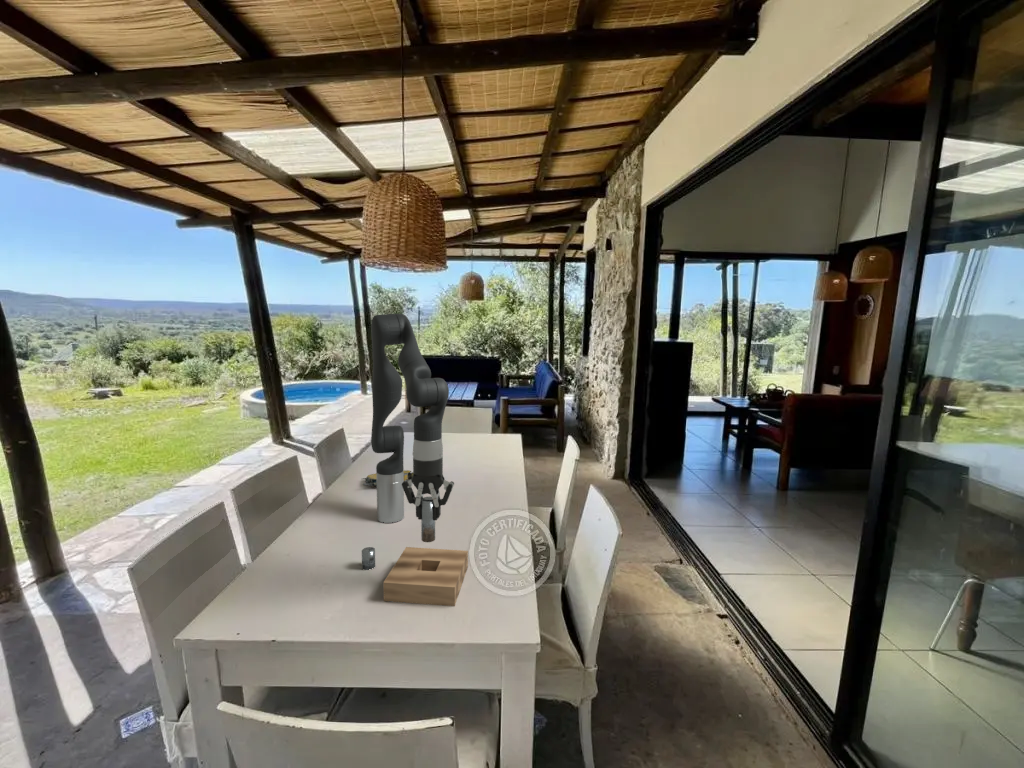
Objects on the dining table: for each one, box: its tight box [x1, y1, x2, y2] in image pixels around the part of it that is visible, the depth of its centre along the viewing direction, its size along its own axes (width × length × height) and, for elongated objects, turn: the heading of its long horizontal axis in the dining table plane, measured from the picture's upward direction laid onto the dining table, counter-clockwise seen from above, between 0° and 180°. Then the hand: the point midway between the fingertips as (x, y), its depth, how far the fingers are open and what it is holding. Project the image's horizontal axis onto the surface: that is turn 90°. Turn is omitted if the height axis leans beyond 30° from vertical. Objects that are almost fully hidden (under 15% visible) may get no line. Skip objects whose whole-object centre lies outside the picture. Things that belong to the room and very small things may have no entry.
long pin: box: [420, 496, 436, 543], centre depth 118 cm, size 4×4×11 cm
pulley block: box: [362, 469, 413, 488], centre depth 195 cm, size 14×6×30 cm
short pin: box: [361, 546, 376, 571], centre depth 127 cm, size 4×4×5 cm
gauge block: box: [382, 546, 469, 607], centre depth 120 cm, size 18×18×5 cm
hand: (428, 518), depth 118 cm, fingers closed on long pin, 3 cm apart
